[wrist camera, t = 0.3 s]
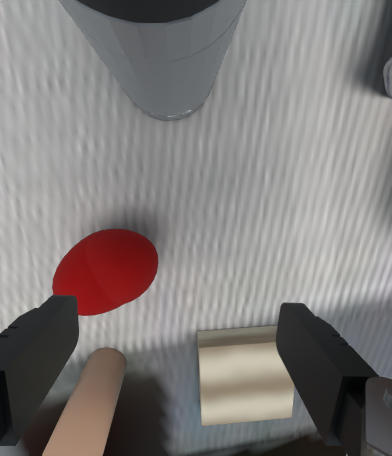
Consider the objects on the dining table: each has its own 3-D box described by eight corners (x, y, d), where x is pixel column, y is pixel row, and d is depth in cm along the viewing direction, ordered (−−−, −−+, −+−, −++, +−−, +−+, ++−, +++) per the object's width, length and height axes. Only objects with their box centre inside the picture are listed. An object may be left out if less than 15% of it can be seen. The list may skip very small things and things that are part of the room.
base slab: (197, 331, 31) (199, 347, 28) (287, 324, 32) (298, 340, 29) (199, 403, 34) (201, 425, 31) (282, 396, 35) (291, 417, 32)
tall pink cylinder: (84, 349, 31) (27, 459, 19) (124, 346, 31) (91, 452, 20) (90, 380, 32) (39, 502, 20) (128, 377, 32) (99, 495, 21)
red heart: (105, 287, 29) (67, 348, 19) (73, 237, 27) (14, 276, 18) (174, 255, 29) (172, 300, 19) (146, 202, 27) (128, 222, 17)
